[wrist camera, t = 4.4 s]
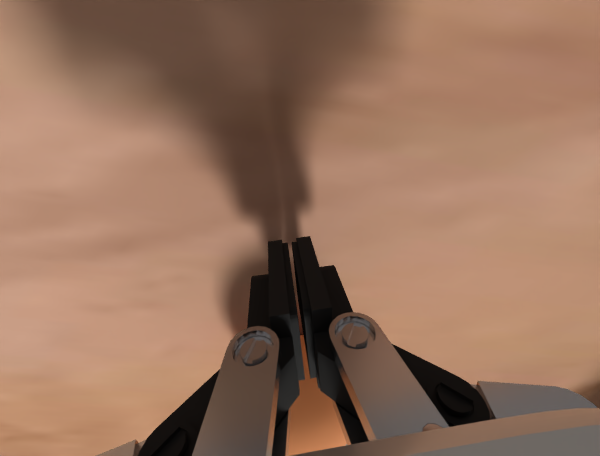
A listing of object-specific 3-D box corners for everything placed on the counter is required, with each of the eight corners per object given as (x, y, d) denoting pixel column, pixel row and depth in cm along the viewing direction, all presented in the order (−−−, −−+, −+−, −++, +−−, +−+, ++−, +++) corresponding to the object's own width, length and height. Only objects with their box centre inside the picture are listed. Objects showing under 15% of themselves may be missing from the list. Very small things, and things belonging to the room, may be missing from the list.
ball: (371, 488, 11) (332, 378, 16) (385, 400, 9) (336, 306, 14) (243, 523, 10) (244, 394, 15) (229, 433, 8) (235, 319, 13)
